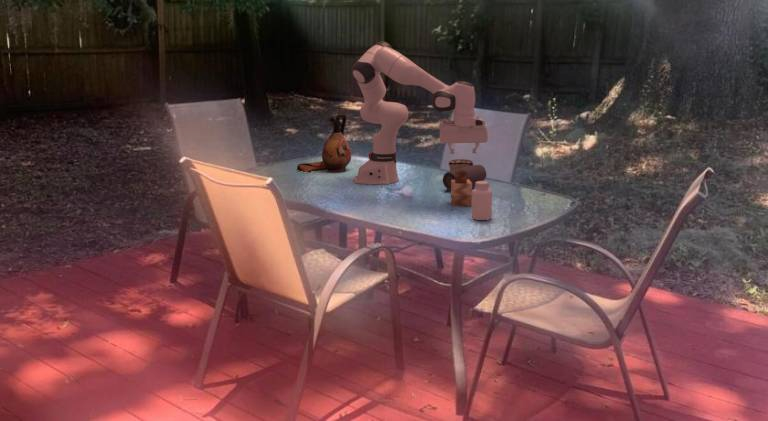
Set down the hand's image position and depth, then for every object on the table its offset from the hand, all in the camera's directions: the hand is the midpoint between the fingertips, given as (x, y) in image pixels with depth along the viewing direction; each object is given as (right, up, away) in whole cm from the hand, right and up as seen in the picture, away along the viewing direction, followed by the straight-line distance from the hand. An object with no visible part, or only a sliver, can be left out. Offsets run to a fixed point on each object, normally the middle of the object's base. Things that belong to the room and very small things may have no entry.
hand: (463, 153), depth 289 cm
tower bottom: (0, -22, +6) cm, 23 cm away
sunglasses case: (-70, -3, +74) cm, 102 cm away
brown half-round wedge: (+4, -9, +49) cm, 50 cm away
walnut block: (-1, -12, +3) cm, 13 cm away
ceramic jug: (-58, -3, +73) cm, 93 cm away
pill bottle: (+5, -28, -15) cm, 32 cm away
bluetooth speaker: (+5, -14, +34) cm, 37 cm away
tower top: (0, -17, +5) cm, 18 cm away
